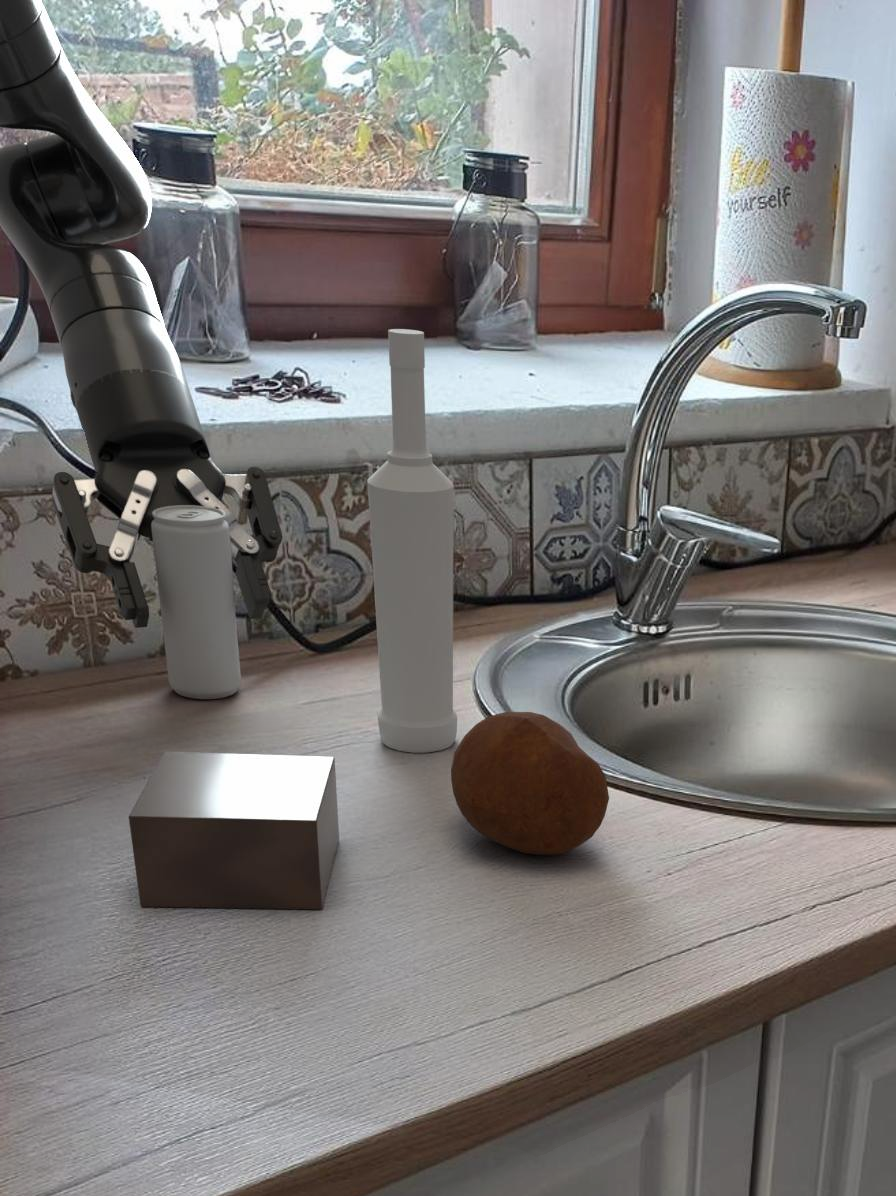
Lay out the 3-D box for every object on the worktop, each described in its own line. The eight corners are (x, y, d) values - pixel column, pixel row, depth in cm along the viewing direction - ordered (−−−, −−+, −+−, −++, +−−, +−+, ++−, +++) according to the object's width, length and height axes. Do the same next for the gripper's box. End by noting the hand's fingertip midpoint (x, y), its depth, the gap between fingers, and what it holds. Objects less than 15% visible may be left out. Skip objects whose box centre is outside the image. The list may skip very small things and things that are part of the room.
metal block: (140, 907, 78) (128, 816, 75) (173, 835, 86) (163, 750, 83) (322, 910, 79) (316, 821, 77) (339, 839, 87) (334, 756, 85)
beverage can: (156, 695, 105) (135, 515, 99) (190, 675, 109) (172, 501, 103) (223, 705, 104) (206, 524, 98) (255, 684, 108) (240, 510, 102)
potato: (547, 891, 84) (549, 762, 80) (406, 834, 88) (402, 710, 85) (643, 846, 90) (649, 724, 86) (506, 795, 95) (506, 678, 91)
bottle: (471, 735, 103) (467, 333, 91) (433, 759, 99) (422, 340, 86) (404, 721, 104) (390, 322, 92) (362, 744, 100) (342, 329, 88)
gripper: (22, 364, 97) (93, 596, 95) (248, 365, 105) (318, 580, 103) (17, 435, 104) (84, 654, 102) (230, 431, 111) (296, 636, 109)
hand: (201, 616), depth 102 cm, fingers open, 7 cm apart
